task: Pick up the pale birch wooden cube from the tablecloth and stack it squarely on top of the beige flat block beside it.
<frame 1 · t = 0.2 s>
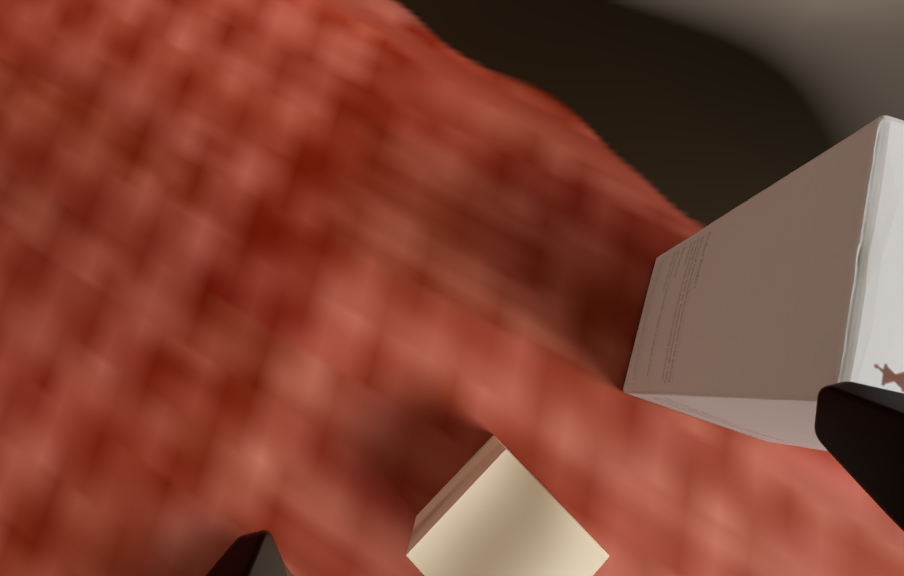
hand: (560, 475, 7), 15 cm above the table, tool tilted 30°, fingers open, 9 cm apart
supplement box: (708, 345, 23), on the table
birch cube: (494, 515, 21), on the table
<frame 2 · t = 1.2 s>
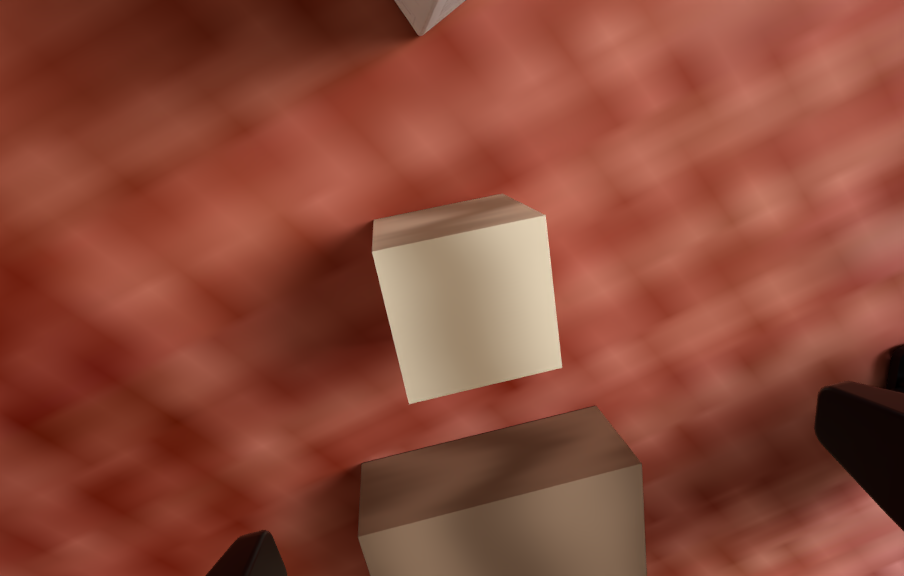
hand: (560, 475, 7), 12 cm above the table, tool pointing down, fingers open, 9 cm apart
beige flat block: (498, 525, 23), on the table
birch cube: (450, 267, 19), on the table
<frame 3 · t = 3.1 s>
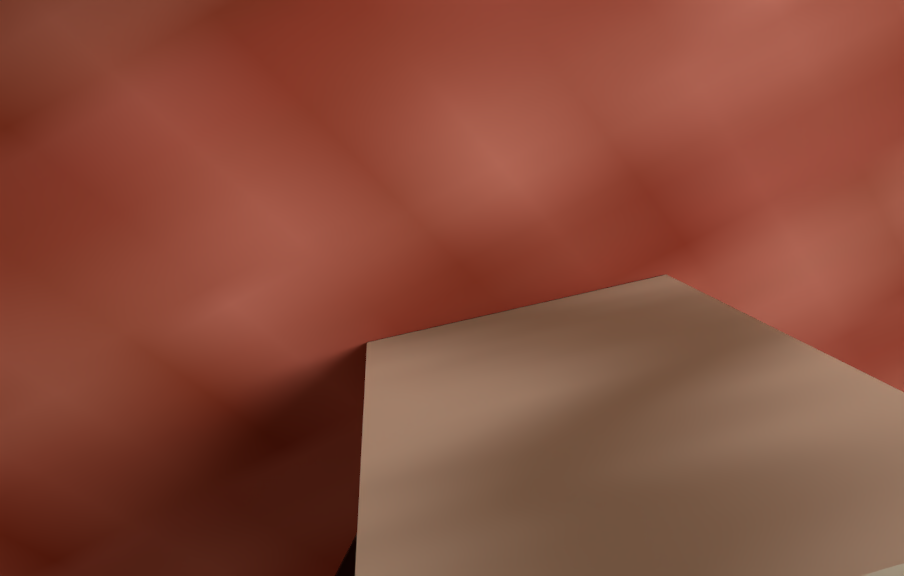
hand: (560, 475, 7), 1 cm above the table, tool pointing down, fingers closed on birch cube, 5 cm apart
birch cube: (538, 434, 8), on the table, touching gripper
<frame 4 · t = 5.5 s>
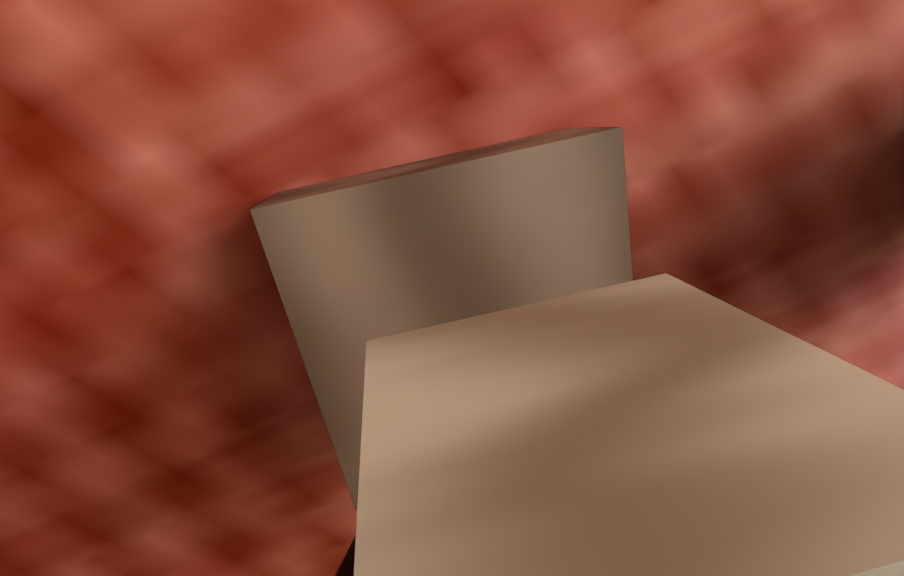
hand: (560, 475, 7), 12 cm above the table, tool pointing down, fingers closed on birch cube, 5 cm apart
beige flat block: (456, 295, 19), on the table
birch cube: (537, 433, 8), point 11 cm above the table, touching gripper
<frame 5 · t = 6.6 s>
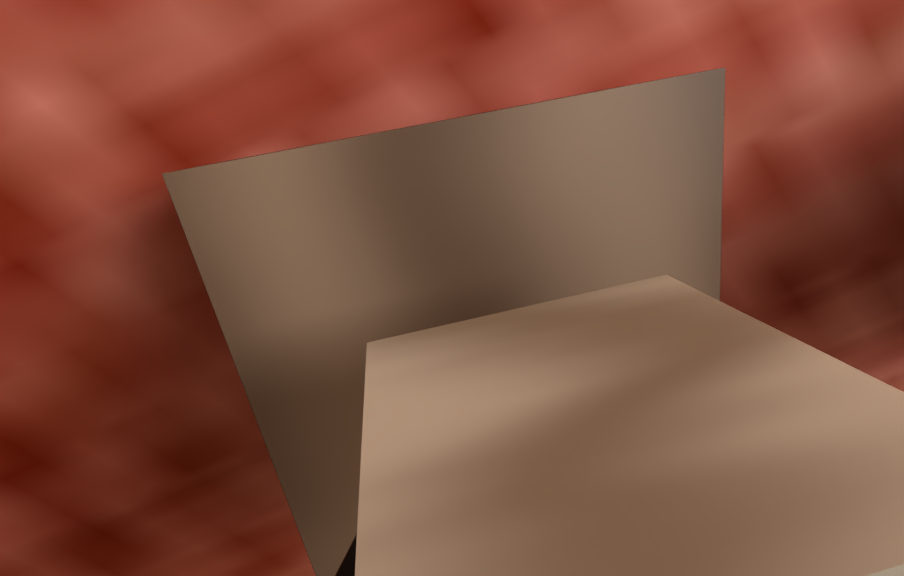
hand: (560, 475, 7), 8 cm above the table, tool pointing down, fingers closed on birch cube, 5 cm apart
beige flat block: (467, 306, 14), on the table
birch cube: (538, 435, 8), point 7 cm above the table, touching gripper
when the fingers open (6 cm above the table, at t = 7.7 s): birch cube drops 1 cm, resting on beige flat block.
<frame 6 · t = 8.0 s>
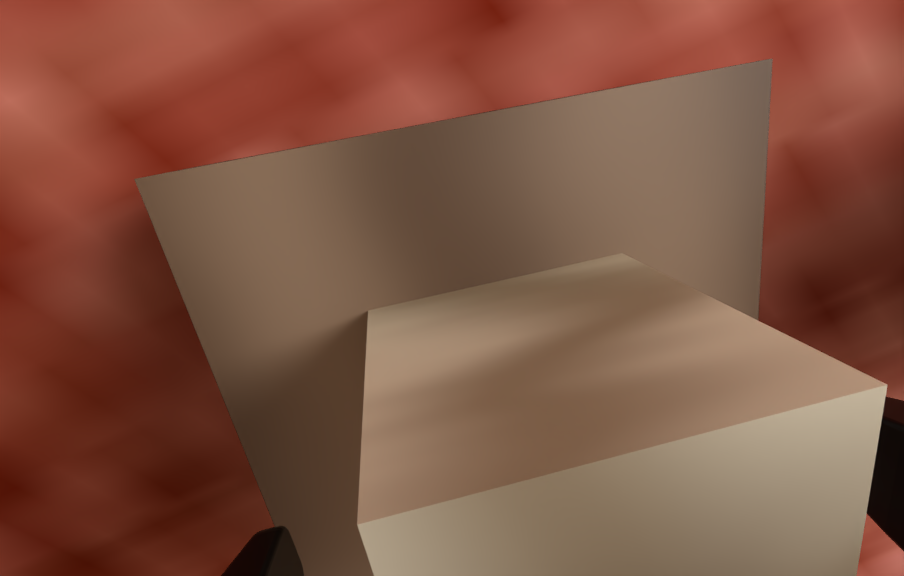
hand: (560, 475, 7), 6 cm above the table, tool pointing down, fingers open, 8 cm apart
beige flat block: (476, 320, 13), on the table
birch cube: (515, 392, 10), point 4 cm above the table, touching beige flat block
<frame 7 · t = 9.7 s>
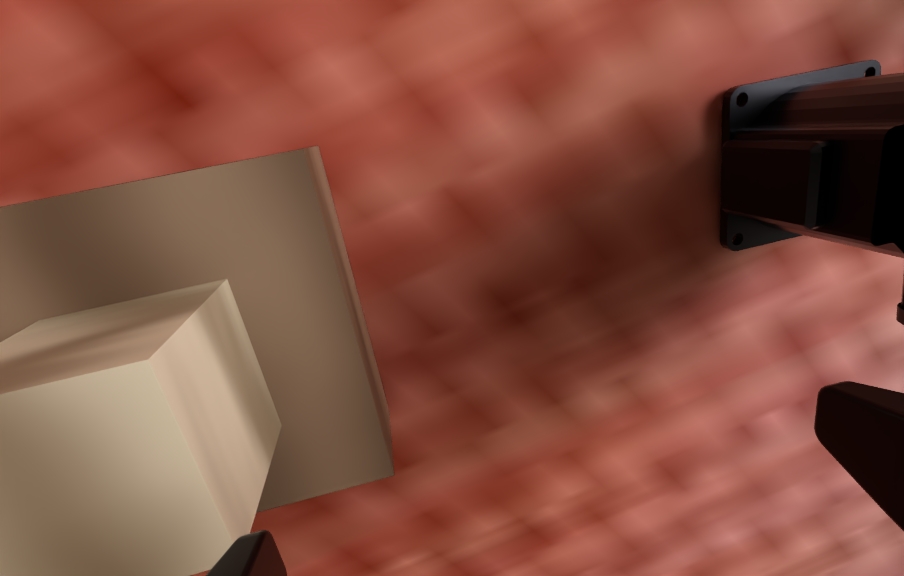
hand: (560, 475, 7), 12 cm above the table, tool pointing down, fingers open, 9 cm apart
beige flat block: (211, 325, 17), on the table
birch cube: (169, 377, 14), point 4 cm above the table, touching beige flat block
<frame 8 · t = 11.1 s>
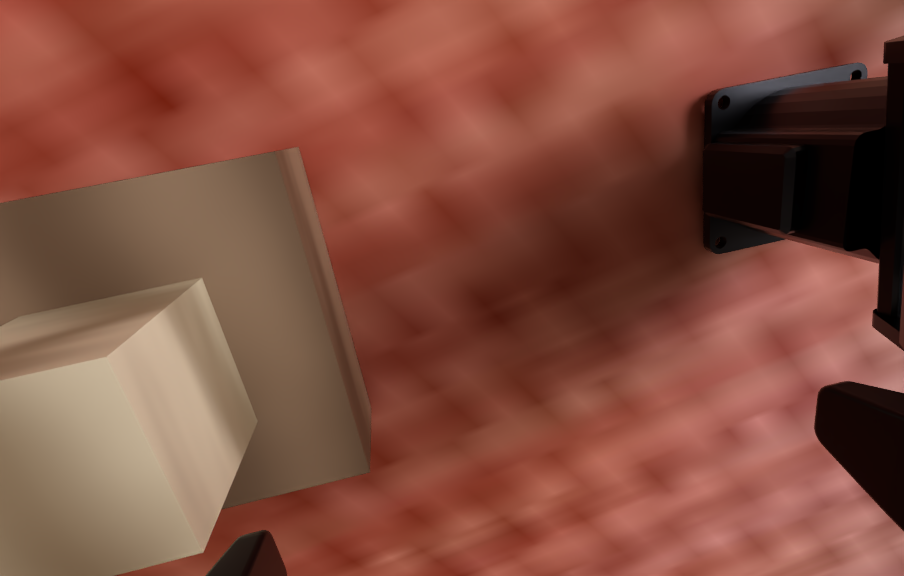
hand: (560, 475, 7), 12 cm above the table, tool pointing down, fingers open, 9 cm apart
beige flat block: (195, 322, 18), on the table
birch cube: (147, 372, 14), point 4 cm above the table, touching beige flat block
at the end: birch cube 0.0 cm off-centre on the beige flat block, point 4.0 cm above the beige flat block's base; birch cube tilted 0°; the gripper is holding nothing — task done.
